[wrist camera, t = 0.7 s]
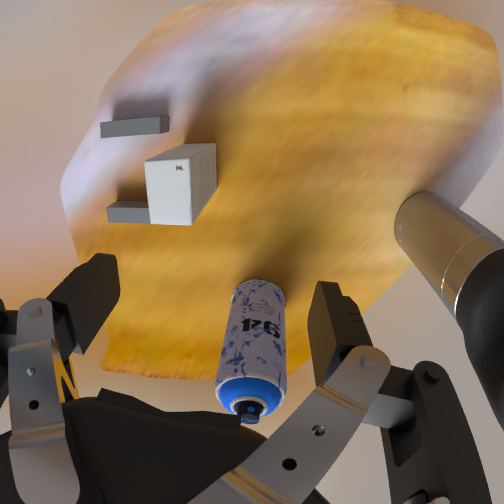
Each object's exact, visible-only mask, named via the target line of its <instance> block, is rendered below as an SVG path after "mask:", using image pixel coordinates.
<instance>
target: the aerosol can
mask: <svg viewBox="0 0 504 504" xmlns="http://www.w3.org/2000/svg"><path fill="white" fill-rule="evenodd" d="M284 309H285V297H284V294H283V292H282V291H281V289H280V288H279V287H278V286H277V285H275V284H274V283H272V282H269V281H267V280H262V279H253V280H248V281H246V282H244V283H241V284H240V285H239V286H238V287H237V288H236V289H235V290H234V292H233V294H232V298H231V309H230V313H229V318H228V323H227V328H226V333H225V338H224V342H223V347H222V352H221V357H220V362H219V367H218V372H217V377H216V382H215V392H216V393H215V394H216V396H217V399H218V400H219V402H220V403H221V404H222V405H223V406H224V407H225V408H226V409H227V410H228V411H230V412H232V413H234V414H236V415H241V423H246V424H256V423H258V422H259V418H260V417H261V416H264V415H267V414H269V413H271V412H273V411H274V410H275V409H277V408H278V407H279V406H280V405H281V404H282V403H283V401H284V399H285V395H286V391H287V382H286V381H287V379H286V340H285V311H284Z"/></svg>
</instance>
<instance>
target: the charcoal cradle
mask: <svg viewBox="0 0 504 504" xmlns="http://www.w3.org/2000/svg"><path fill="white" fill-rule="evenodd" d="M100 128H101V138H109V137H120V136H132V135H146V134H161V133H165V132H168V116H161V117H147V118H136V119H126V120H117V121H109V122H101V123H100ZM107 215H108V222H122V223H149V224H151V223H150V214H149V206H148V201H116V202H114V203H113V204H111V205H110V206H108V207H107Z"/></svg>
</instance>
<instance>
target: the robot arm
mask: <svg viewBox="0 0 504 504" xmlns="http://www.w3.org/2000/svg"><path fill="white" fill-rule="evenodd" d="M394 232H395V237H396V240H397V242H398V244H399V246H400V247H401V248H402V249H403V250H404V252H405V253H406V254H407V255H408V257H409V258H410V259H411V261H412V262H413V263H414V264H415V266H416V267H417V268H418V269H419V271H420V272H421V273H422V275H423V276H424V277H425V279H426V280H427V281H428V282H429V284H430V285H431V287H432V288H433V289H434V290H435V292H436V293H437V295H438V296H439V297H440V299H441V300H442V302H443V303H444V305H445V306H446V307H447V309H448V310H449V311H450V313H451V314H452V316H453V317H454V319H455V320H456V322H457V323H458V325H459V326H460V328H461V329H462V331H463V335H464V340H465V347H466V351H467V354H468V357H469V359H470V361H471V364H472V366H473V368H474V370H475V372H476V374H477V376H478V378H479V381H480V383H481V385H482V387H483V389H484V392H485V394H486V396H487V399H488V401H489V403H490V405H491V408H492V410H493V412H494V414H495V416H496V418H497V420H498V422H499V424H500V426H501V427H502V429H503V431H504V241H503V240H502V239H501V238H499V237H498V236H497V235H495V234H494V233H492V232H491V231H490V230H488V229H487V228H486V227H484V226H483V225H482V224H480V223H479V222H477V221H476V220H475V219H473V218H472V217H470V216H469V215H467V214H466V213H464V212H463V211H461V210H460V209H458V208H457V207H455V206H454V205H453V204H451V203H449V202H448V201H446V200H445V199H443V198H442V197H440V196H438V195H436V194H434V193H431V192H421V193H418V194H415V195H413V196H412V197H410V198H409V199H408V200H406V201H405V202H404V204H403V205H402V206H401V207H400V209H399V211H398V213H397V216H396V219H395V225H394ZM119 297H120V283H119V275H118V267H117V259H116V257H115V255H111V254H104V253H96V254H95V255H94V256H93V257H92V258H91V259H90V260H89V261H88V262H87V263H84V264H82V265H80V266H78V267H76V268H75V269H74V270H73V271H72V272H71V273H70V274H69V276H67V277H66V278H65V279H64V280H63V282H61V283H60V284H59V285H58V286H57V287H56V288H55V289H54V290H53V291H52V292H51V293H50V294H49V296H48V297H47V298H46V299H43V298H36V299H32V300H29V301H27V302H26V303H24V304H23V305H22V306H21V307H20V309H19V310H6V309H5V306H4V303H3V301H2V300H1V299H0V408H1V406H2V404H3V402H4V401H5V399H6V397H7V395H8V394H9V406H10V419H11V428H12V430H10V431H8V432H6V433H4V434H1V435H0V504H330V503H329V502H328V501H327V500H326V499H325V498H324V497H323V496H322V495H321V494H320V493H319V492H318V491H317V490H316V489H315V487H316V486H317V484H318V483H319V482H320V481H321V479H322V478H323V477H324V475H325V474H326V473H327V471H328V470H329V469H330V468H331V466H332V465H333V463H334V462H335V460H336V459H337V458H338V456H339V455H340V453H341V452H342V451H343V449H344V448H345V446H346V445H347V443H348V442H349V440H350V439H351V437H352V436H353V434H354V433H355V431H356V430H357V428H358V427H359V425H360V423H361V422H362V423H366V424H370V425H374V426H379V427H380V430H381V435H382V441H383V447H384V453H385V459H386V466H387V472H388V479H389V487H390V495H391V503H392V504H492V501H491V496H490V492H489V488H488V484H487V481H486V477H485V474H484V470H483V466H482V463H481V460H480V457H479V453H478V450H477V447H476V444H475V442H474V438H473V435H472V433H471V430H470V427H469V425H468V422H467V419H466V416H465V414H464V411H463V409H462V406H461V404H460V401H459V399H458V396H457V394H456V392H455V389H454V387H453V385H452V382H451V380H450V378H449V375H448V374H447V372H446V371H445V369H444V368H443V367H441V366H440V365H438V364H437V363H434V362H431V361H421V362H419V363H417V365H416V366H415V367H414V369H413V370H412V371H411V370H407V369H403V368H399V367H395V366H392V365H391V364H390V360H389V358H388V357H387V355H386V354H385V353H384V352H382V351H381V350H379V349H377V348H375V347H373V344H372V342H371V339H370V336H369V334H368V332H367V329H366V326H365V324H364V323H363V318H362V316H361V315H360V314H361V313H360V311H359V308H358V306H357V304H356V303H355V302H354V301H353V300H352V299H351V298H350V297H349V296H342V293H341V290H340V287H339V285H338V283H336V282H326V281H318V282H317V284H316V288H315V292H314V296H313V299H312V303H311V307H310V311H309V315H308V334H309V341H310V347H311V354H312V361H313V368H314V375H315V382H316V388H315V389H314V390H313V391H312V392H311V394H310V395H309V396H308V397H307V398H306V399H305V400H304V401H303V403H302V404H301V405H300V406H299V407H298V408H297V409H296V410H295V411H294V412H293V414H291V416H290V417H289V418H288V419H287V420H286V421H285V422H284V423H283V424H282V425H281V426H280V427H279V428H278V429H277V430H276V431H275V432H274V433H273V434H272V435H271V436H270V437H269V438H268V439H267V438H266V437H264V436H263V435H261V434H259V433H258V432H256V431H253V430H251V429H249V428H247V427H244V426H241V425H240V424H241V415H231V414H223V413H216V412H209V411H191V412H165V411H161V410H160V409H157V408H155V407H153V406H151V405H149V404H147V403H145V402H142V401H141V400H139V399H137V398H135V397H133V396H129V395H125V394H121V393H118V392H114V391H111V390H107V389H104V388H101V390H100V392H99V394H98V396H97V397H84V398H80V397H79V393H78V389H77V385H76V381H75V377H74V372H73V367H72V362H71V359H70V357H69V356H70V354H71V353H72V352H74V353H77V354H81V355H84V353H85V351H86V350H87V348H88V347H89V345H90V343H91V342H92V340H93V339H94V337H95V336H96V334H97V333H98V331H99V329H100V328H101V326H102V325H103V323H104V322H105V320H106V319H107V317H108V316H109V314H110V313H111V311H112V310H113V308H114V307H115V305H116V304H117V302H118V300H119Z"/></svg>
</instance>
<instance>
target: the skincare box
mask: <svg viewBox="0 0 504 504" xmlns="http://www.w3.org/2000/svg"><path fill="white" fill-rule="evenodd" d="M144 166H145V178H146V188H147V197H148V206H149V214H150V223H151V224H170V225H192V224H193V223H194V221H195V220H196V218H197V217H198V215H199V214H200V212H201V211H202V210H203V208H204V207H205V205H206V204H207V202H208V201H209V200H210V198H211V197H212V195H213V194H214V193H215V191H216V190H217V174H216V143H196V144H182V145H180V146H177V147H175V148H173V149H170V150H168V151H166V152H163V153H161V154H159V155H157V156H154V157H152V158H150V159H148V160H146V161H145V162H144Z"/></svg>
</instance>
